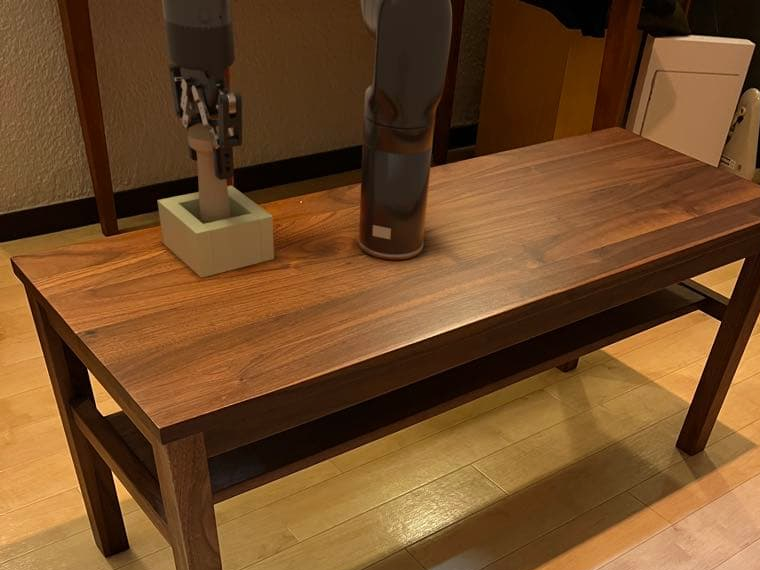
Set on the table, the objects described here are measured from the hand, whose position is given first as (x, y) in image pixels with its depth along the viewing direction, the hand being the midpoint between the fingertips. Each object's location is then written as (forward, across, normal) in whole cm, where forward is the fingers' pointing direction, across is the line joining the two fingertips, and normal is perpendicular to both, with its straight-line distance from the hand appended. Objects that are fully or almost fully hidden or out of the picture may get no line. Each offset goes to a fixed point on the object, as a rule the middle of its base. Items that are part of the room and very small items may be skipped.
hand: (211, 167), depth 101 cm
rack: (+11, 0, 0) cm, 11 cm away
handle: (+11, 0, 0) cm, 11 cm away
